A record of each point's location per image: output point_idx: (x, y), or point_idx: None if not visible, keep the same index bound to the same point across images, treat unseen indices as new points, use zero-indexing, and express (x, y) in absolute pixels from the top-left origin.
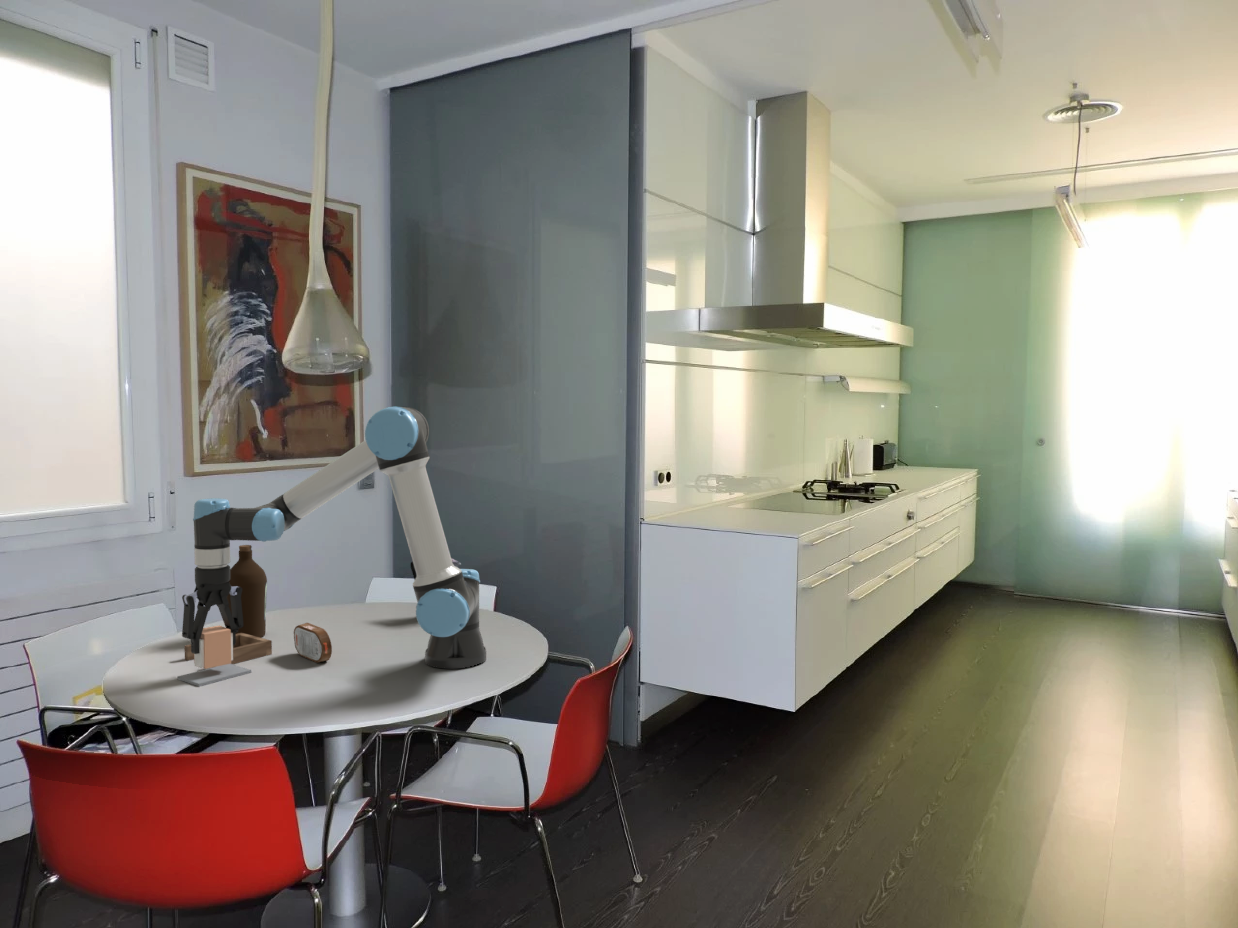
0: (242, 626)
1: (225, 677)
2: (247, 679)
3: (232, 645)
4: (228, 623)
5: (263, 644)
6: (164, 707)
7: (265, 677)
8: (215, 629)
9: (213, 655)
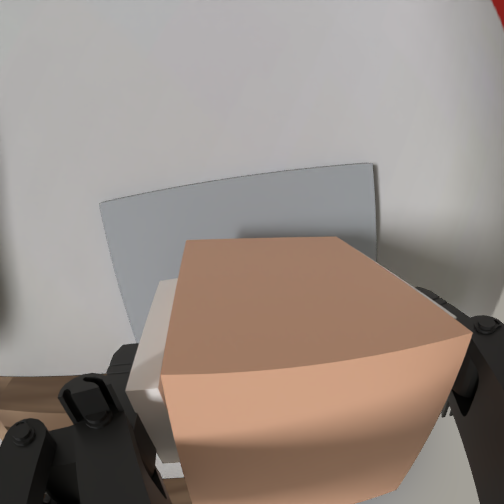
0: (19, 423)
1: (241, 176)
2: (165, 99)
3: (148, 323)
4: (153, 495)
5: (3, 404)
6: (489, 60)
7: (94, 77)
8: (295, 461)
9: (313, 257)
